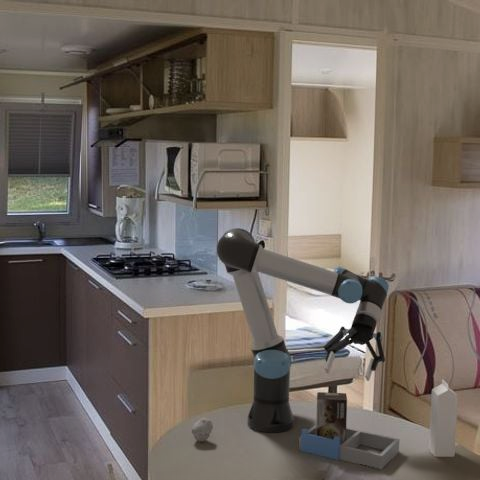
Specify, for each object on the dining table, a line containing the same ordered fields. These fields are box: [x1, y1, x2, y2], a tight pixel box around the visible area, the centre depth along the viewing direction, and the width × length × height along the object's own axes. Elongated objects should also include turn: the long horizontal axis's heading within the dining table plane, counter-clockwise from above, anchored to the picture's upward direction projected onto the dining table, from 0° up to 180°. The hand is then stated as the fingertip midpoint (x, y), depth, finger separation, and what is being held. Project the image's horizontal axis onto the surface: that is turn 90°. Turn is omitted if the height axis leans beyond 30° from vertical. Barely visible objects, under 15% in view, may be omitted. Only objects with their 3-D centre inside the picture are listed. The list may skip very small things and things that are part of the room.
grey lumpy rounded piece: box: [191, 417, 214, 443], centre depth 229 cm, size 6×7×7 cm
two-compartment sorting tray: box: [298, 424, 401, 470], centre depth 224 cm, size 26×16×7 cm, turn 59°
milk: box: [428, 379, 459, 458], centre depth 223 cm, size 6×6×22 cm
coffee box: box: [315, 391, 348, 445], centre depth 226 cm, size 9×6×16 cm
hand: (346, 374), depth 234 cm, fingers open, 13 cm apart
